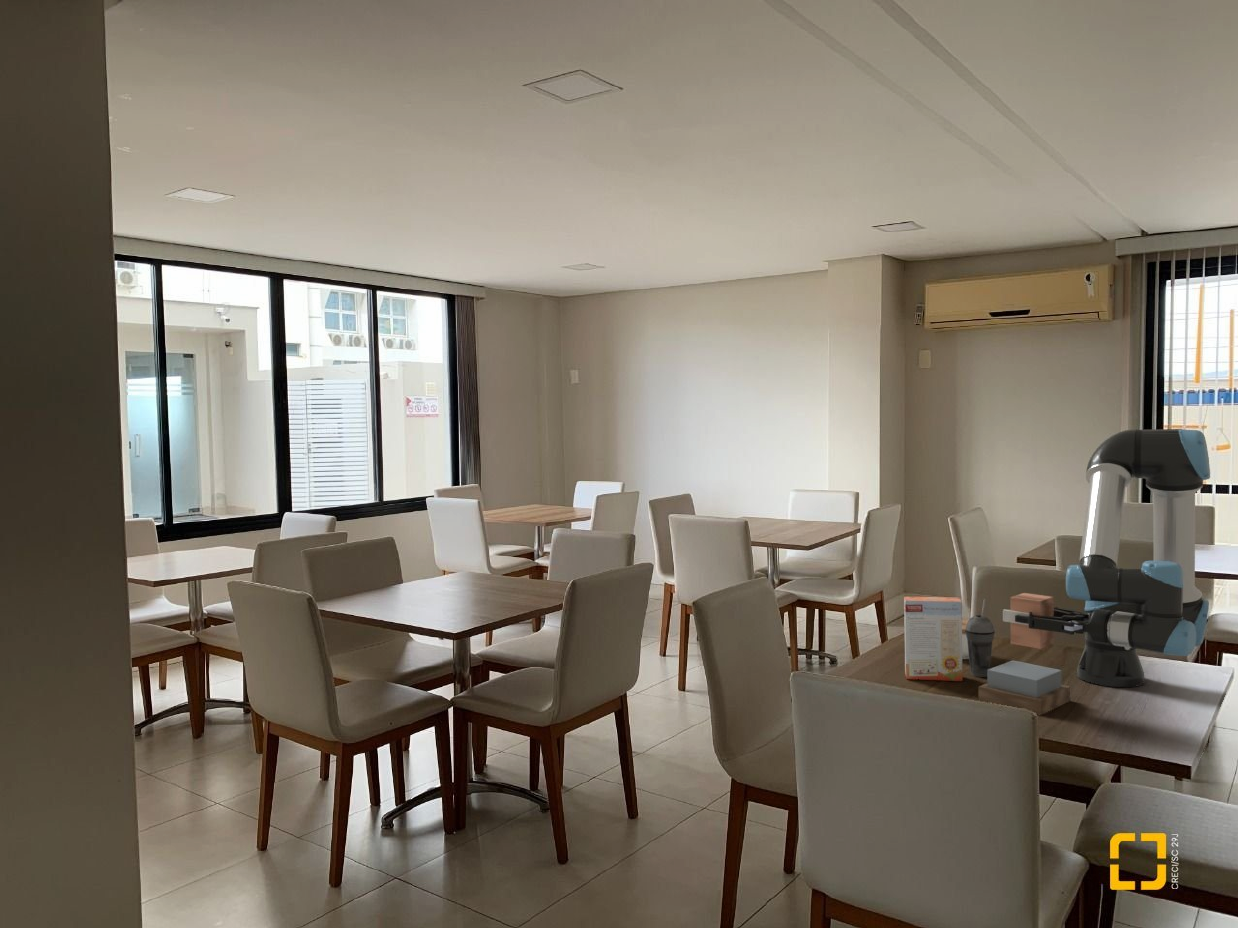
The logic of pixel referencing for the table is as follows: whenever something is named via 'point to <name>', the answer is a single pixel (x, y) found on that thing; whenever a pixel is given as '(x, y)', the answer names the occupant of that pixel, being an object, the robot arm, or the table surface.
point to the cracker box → (933, 638)
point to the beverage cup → (979, 643)
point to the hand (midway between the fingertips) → (1011, 612)
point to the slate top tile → (1024, 678)
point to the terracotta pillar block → (1038, 607)
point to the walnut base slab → (1025, 698)
